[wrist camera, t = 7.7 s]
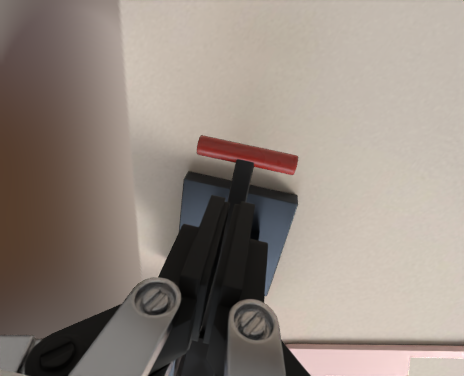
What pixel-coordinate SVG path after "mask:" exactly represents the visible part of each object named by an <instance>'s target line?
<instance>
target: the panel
mask: <svg viewBox="0 0 464 376" xmlns="http://www.w3.org/2000/svg"><path fill="white" fill-rule="evenodd" d="M285 345H286V346H287V347H288V349H289V350H290V351H291V352H292V353H293V355H294V356H295V357H296V358H297V360H298V361H299V362H300V363H301V364H302V366H303V367H304V368H305V369H306V370H307V372H308V373H309V374H310V375H311V376H408V374H409V365H410V357H415V358H464V346H439V345H355V344H285Z"/></svg>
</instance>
